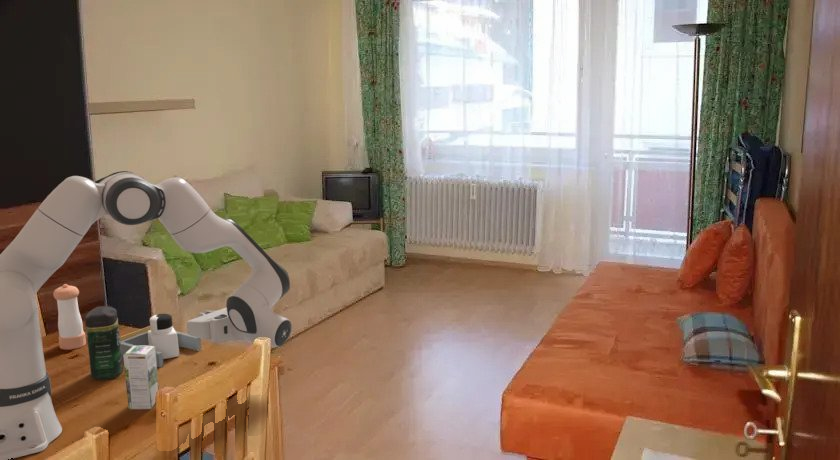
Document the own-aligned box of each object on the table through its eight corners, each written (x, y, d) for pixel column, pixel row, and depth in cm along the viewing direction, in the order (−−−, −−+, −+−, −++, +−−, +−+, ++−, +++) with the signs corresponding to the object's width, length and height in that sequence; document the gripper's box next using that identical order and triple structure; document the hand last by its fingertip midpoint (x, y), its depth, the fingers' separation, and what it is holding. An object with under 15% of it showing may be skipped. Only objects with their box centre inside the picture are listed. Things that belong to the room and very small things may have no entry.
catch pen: (160, 367, 206) (158, 349, 205) (117, 355, 216) (115, 338, 214) (201, 349, 218) (199, 333, 217) (159, 339, 228) (157, 322, 227)
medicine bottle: (174, 348, 220) (171, 310, 217) (179, 356, 214) (175, 316, 211) (149, 353, 217) (145, 314, 214) (153, 361, 210) (149, 321, 208)
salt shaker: (64, 341, 228) (56, 281, 224) (89, 340, 228) (81, 280, 224) (56, 350, 221) (47, 288, 216) (81, 348, 221) (73, 287, 217)
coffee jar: (121, 379, 199) (113, 313, 195) (89, 382, 197) (80, 316, 193) (125, 365, 208) (118, 302, 204) (95, 368, 206) (87, 305, 202)
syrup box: (137, 399, 186) (131, 345, 183) (160, 399, 186) (155, 344, 183) (128, 409, 181) (121, 353, 177) (152, 409, 180) (146, 353, 177)
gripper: (265, 301, 204) (229, 294, 211) (209, 322, 187) (172, 313, 194) (266, 323, 205) (230, 315, 212) (210, 345, 188) (173, 336, 195)
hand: (202, 314), depth 203 cm, fingers closed
